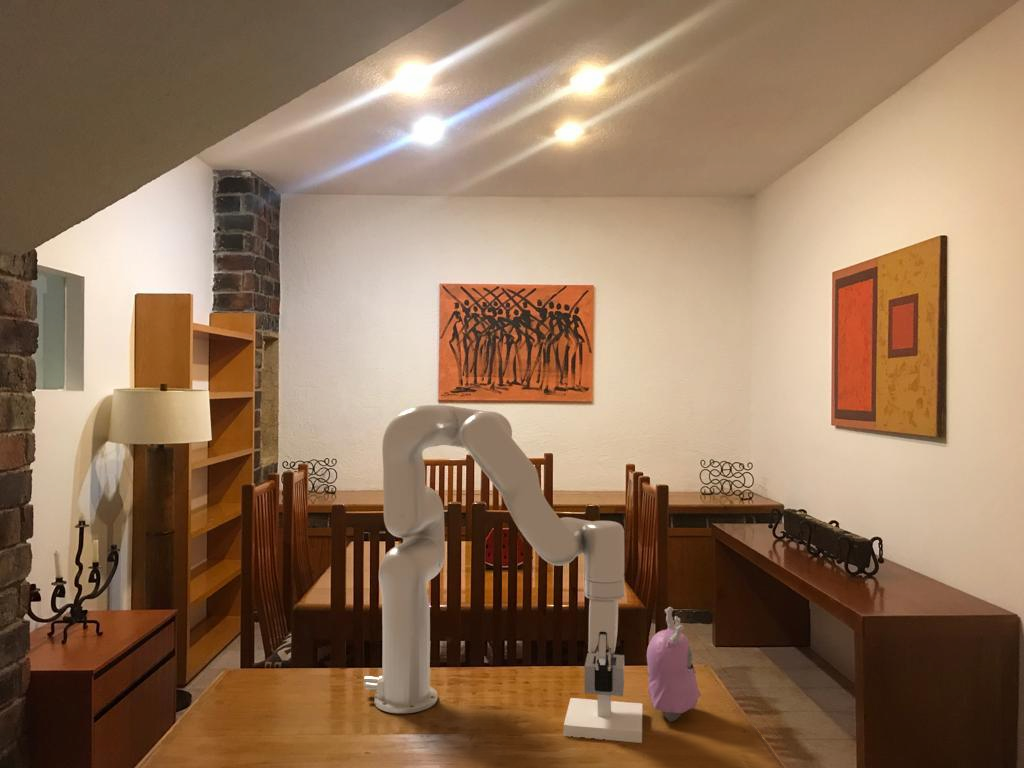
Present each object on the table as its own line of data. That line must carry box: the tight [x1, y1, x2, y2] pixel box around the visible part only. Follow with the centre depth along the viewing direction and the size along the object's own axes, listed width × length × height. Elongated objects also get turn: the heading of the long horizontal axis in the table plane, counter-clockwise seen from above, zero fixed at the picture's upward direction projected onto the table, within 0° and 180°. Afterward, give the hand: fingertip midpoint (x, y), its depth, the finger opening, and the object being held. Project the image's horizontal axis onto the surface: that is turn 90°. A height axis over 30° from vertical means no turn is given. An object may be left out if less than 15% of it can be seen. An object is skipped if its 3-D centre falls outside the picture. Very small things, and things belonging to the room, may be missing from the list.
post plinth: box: [563, 694, 643, 744], centre depth 137 cm, size 14×12×9 cm
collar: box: [584, 652, 625, 697], centre depth 137 cm, size 7×7×5 cm
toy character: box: [646, 606, 702, 722], centre depth 142 cm, size 12×10×20 cm
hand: (604, 682), depth 137 cm, fingers closed on collar, 7 cm apart
